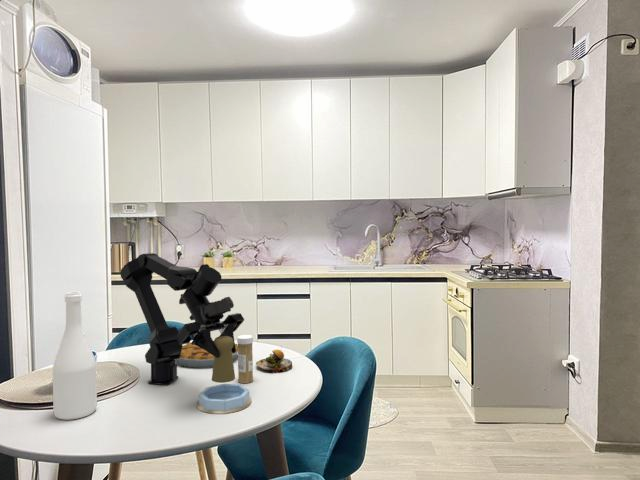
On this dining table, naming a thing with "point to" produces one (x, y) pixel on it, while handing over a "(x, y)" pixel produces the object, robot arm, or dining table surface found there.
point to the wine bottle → (74, 367)
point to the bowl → (224, 397)
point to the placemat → (223, 411)
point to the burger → (275, 362)
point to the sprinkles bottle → (245, 358)
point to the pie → (198, 356)
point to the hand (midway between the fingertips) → (226, 354)
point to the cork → (223, 360)
